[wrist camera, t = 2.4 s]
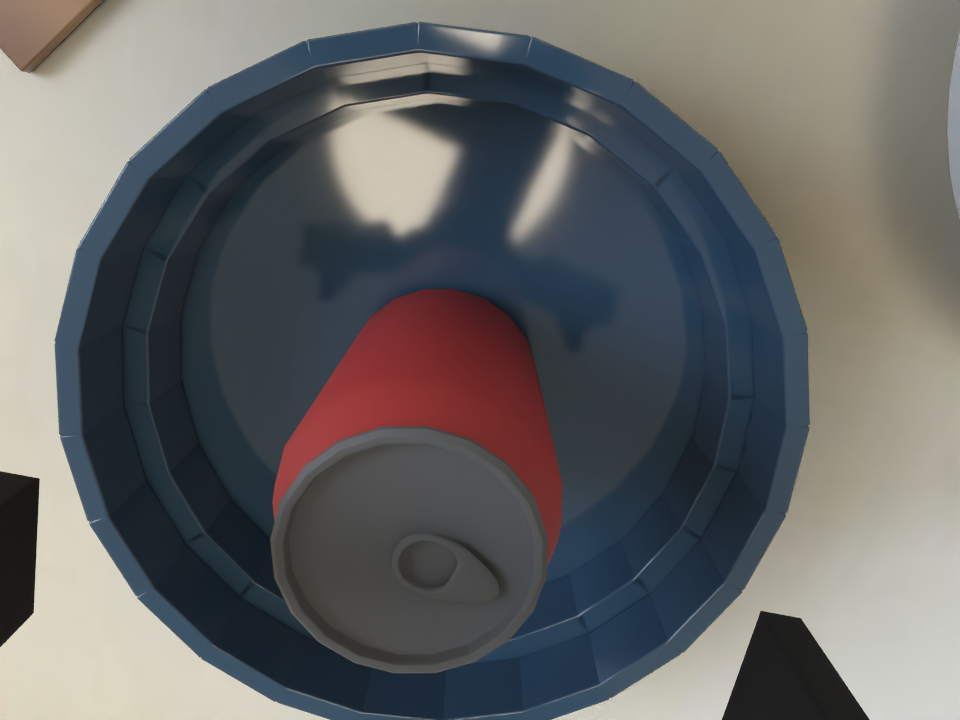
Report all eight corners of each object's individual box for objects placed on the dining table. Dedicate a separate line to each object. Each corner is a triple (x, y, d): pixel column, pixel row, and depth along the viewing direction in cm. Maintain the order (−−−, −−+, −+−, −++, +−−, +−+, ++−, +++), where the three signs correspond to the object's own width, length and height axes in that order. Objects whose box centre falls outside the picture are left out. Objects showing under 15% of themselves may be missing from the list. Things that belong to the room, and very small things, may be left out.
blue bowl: (493, -104, 22) (496, -181, 17) (857, 420, 27) (948, 488, 22) (15, 325, 26) (-104, 372, 21) (406, 718, 31) (389, 838, 25)
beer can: (484, 489, 27) (484, 741, 16) (320, 415, 27) (195, 624, 15) (568, 335, 26) (636, 492, 14) (396, 251, 25) (320, 345, 13)
